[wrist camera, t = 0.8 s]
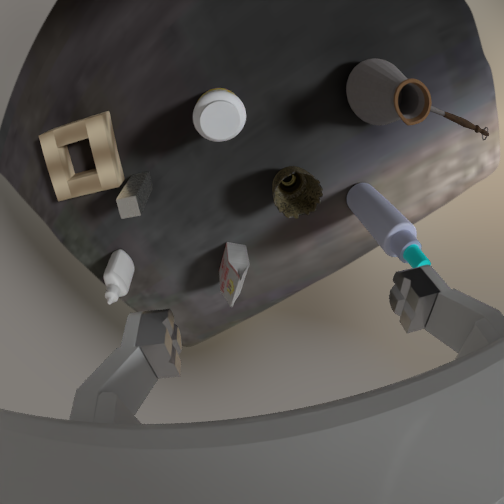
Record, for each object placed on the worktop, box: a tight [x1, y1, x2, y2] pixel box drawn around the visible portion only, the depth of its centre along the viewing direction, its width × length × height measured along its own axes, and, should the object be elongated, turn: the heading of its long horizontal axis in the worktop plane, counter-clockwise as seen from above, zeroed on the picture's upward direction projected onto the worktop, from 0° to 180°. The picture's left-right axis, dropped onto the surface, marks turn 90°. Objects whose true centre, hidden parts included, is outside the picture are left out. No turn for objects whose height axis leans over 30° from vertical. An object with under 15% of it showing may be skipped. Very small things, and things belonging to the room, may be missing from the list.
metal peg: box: [116, 171, 153, 219], centre depth 43 cm, size 3×3×10 cm
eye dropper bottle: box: [103, 249, 134, 304], centre depth 50 cm, size 4×6×12 cm
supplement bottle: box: [193, 88, 246, 142], centre depth 37 cm, size 7×7×13 cm
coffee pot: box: [346, 58, 489, 140], centre depth 37 cm, size 21×12×15 cm, turn 82°
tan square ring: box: [39, 111, 124, 201], centre depth 41 cm, size 12×12×4 cm
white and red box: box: [219, 242, 249, 307], centre depth 54 cm, size 4×7×10 cm, turn 165°
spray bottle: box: [347, 183, 431, 268], centre depth 45 cm, size 6×6×22 cm
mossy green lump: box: [272, 166, 323, 219], centre depth 47 cm, size 8×7×8 cm
